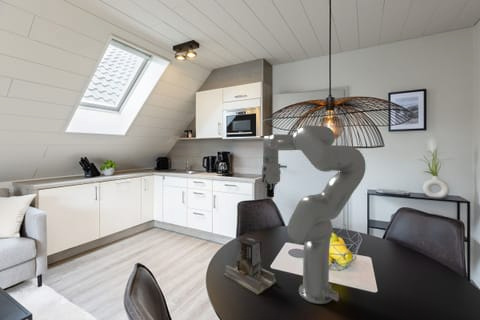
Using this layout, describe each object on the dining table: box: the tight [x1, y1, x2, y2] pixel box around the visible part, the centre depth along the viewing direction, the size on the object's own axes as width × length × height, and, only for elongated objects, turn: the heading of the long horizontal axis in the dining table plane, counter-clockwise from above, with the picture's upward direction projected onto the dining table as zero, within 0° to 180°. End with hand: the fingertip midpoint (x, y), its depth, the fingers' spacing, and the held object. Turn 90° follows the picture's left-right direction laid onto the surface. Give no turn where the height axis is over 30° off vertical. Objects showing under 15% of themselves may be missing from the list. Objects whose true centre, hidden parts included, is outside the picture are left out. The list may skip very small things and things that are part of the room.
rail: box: [223, 264, 277, 295], centre depth 104 cm, size 12×20×5 cm, turn 45°
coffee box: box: [236, 236, 262, 280], centre depth 104 cm, size 9×6×16 cm
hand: (270, 196), depth 120 cm, fingers closed
